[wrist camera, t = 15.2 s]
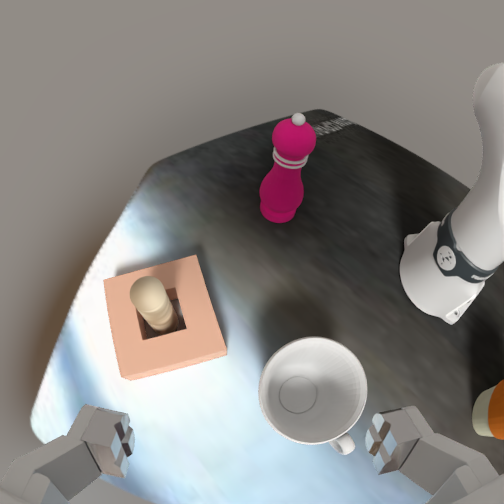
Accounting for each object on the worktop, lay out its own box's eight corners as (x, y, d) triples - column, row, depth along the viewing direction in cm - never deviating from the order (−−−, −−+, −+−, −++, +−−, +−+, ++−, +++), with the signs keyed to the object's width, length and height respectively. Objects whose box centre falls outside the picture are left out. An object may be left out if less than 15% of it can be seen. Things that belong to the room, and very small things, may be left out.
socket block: (198, 267, 45) (196, 254, 42) (226, 355, 39) (226, 349, 36) (112, 291, 42) (103, 279, 39) (130, 380, 36) (121, 377, 32)
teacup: (288, 469, 31) (307, 485, 23) (234, 378, 37) (237, 368, 29) (361, 422, 35) (397, 422, 26) (310, 338, 41) (333, 317, 32)
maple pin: (174, 305, 42) (160, 272, 32) (181, 331, 40) (167, 304, 31) (148, 312, 41) (127, 281, 31) (155, 338, 39) (133, 313, 30)
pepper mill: (251, 197, 53) (263, 101, 36) (288, 190, 55) (311, 98, 37) (265, 229, 50) (284, 132, 33) (304, 221, 51) (337, 128, 34)
